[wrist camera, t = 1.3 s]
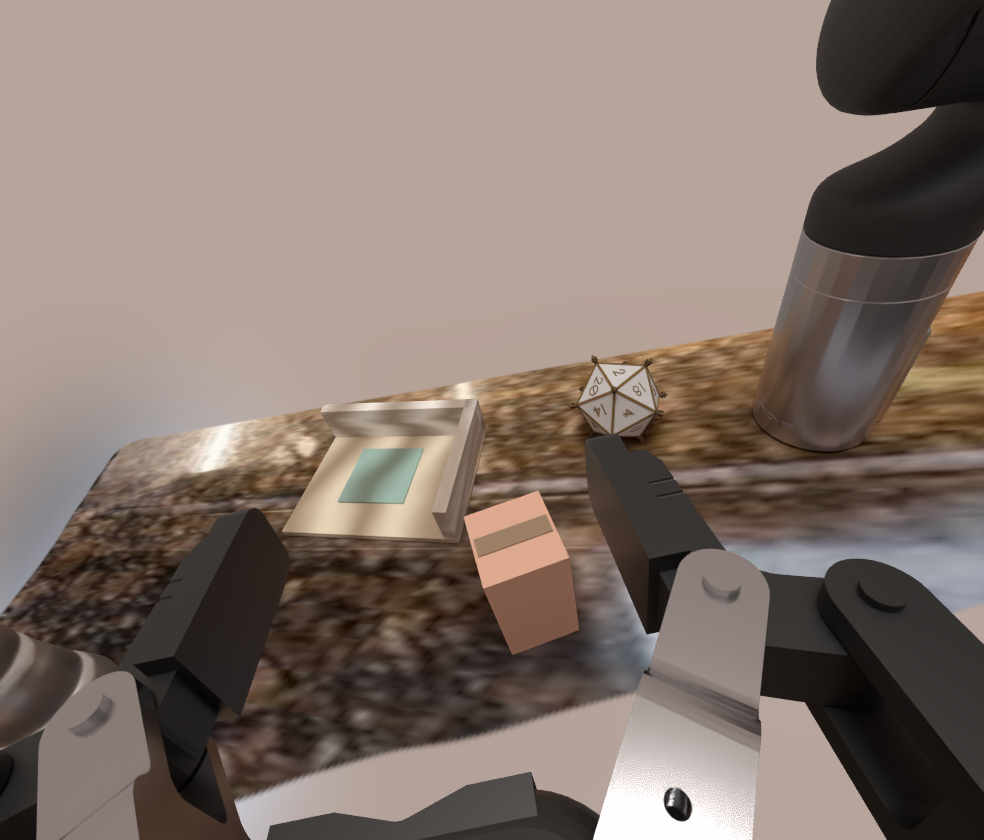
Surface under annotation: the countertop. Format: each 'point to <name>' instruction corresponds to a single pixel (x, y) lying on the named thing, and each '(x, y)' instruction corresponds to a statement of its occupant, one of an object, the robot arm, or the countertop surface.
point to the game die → (619, 399)
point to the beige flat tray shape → (394, 472)
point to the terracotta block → (524, 571)
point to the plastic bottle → (39, 682)
